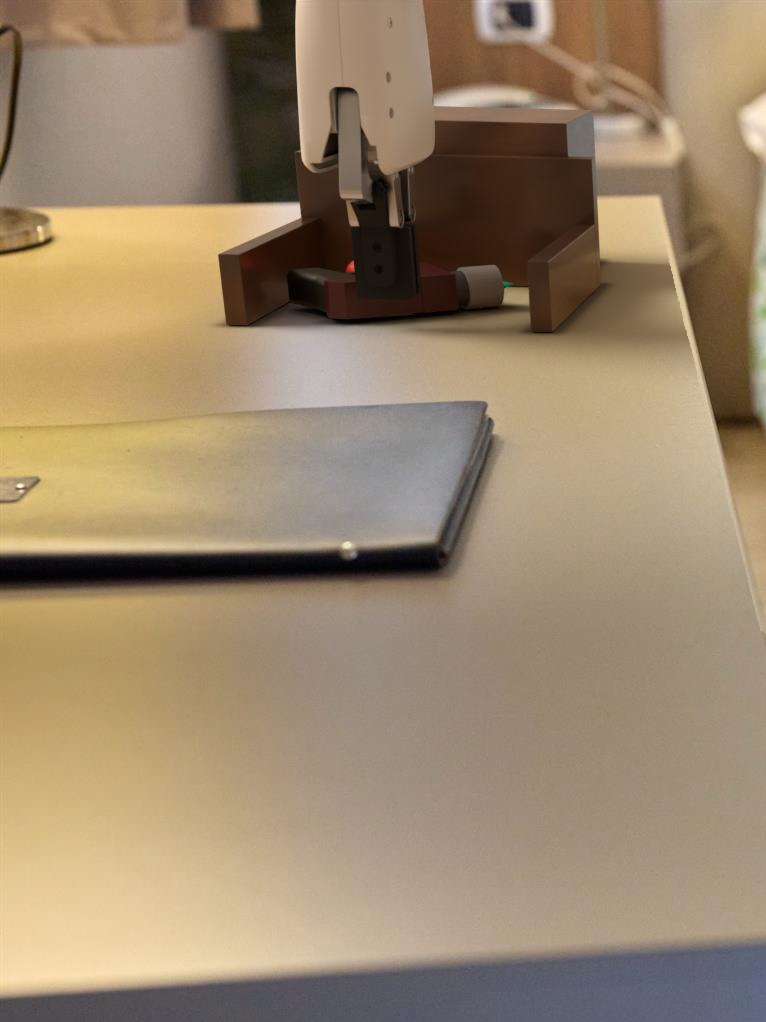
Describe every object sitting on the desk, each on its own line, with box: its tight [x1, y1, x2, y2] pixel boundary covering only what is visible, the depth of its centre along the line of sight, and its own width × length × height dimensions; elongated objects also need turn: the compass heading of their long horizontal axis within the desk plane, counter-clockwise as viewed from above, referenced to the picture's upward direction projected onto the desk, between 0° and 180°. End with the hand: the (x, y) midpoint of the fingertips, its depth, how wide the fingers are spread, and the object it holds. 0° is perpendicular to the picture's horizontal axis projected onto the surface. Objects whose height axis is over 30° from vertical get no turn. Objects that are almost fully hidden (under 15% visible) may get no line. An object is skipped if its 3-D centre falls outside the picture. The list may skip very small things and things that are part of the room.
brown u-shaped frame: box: [217, 105, 602, 333], centre depth 120 cm, size 18×25×10 cm
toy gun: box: [287, 260, 513, 320], centre depth 116 cm, size 10×12×5 cm
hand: (389, 296), depth 110 cm, fingers closed
